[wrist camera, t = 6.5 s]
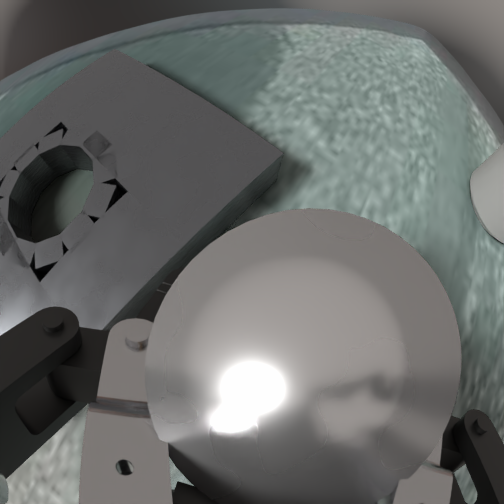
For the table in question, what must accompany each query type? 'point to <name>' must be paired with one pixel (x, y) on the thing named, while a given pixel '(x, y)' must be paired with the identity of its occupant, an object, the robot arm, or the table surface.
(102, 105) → the plate
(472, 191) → the can
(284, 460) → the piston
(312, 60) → the table surface
